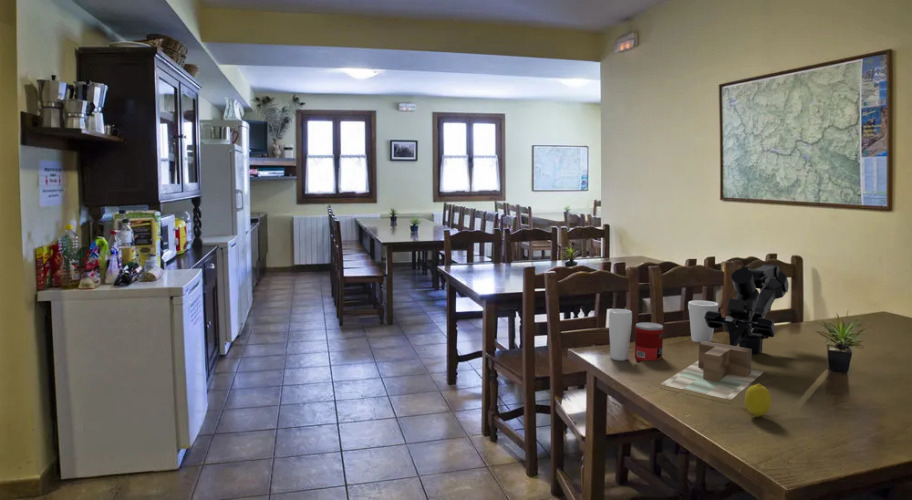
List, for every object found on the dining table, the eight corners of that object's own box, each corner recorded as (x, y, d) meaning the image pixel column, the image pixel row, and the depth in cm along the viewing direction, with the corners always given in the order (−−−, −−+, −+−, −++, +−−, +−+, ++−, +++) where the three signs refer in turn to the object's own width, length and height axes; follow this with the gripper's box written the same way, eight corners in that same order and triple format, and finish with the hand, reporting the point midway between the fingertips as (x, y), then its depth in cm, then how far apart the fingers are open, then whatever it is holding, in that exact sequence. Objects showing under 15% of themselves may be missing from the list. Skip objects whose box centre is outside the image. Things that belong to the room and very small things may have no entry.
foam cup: (686, 336, 220) (687, 299, 219) (714, 337, 218) (716, 301, 216) (688, 343, 211) (690, 305, 210) (717, 345, 209) (719, 306, 207)
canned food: (663, 364, 187) (664, 328, 186) (635, 363, 189) (636, 327, 187) (660, 357, 195) (661, 322, 193) (633, 356, 196) (634, 321, 195)
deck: (699, 363, 188) (699, 359, 188) (763, 376, 176) (764, 371, 176) (659, 388, 166) (660, 384, 166) (730, 404, 155) (730, 399, 154)
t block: (703, 364, 183) (704, 341, 182) (750, 373, 175) (751, 349, 174) (686, 375, 174) (687, 350, 173) (735, 385, 165) (737, 359, 164)
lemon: (739, 412, 149) (741, 380, 148) (761, 412, 150) (763, 379, 149) (752, 421, 144) (754, 388, 143) (775, 421, 144) (777, 387, 143)
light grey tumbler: (631, 356, 195) (632, 309, 194) (629, 362, 189) (631, 314, 187) (608, 354, 198) (610, 308, 196) (606, 360, 191) (608, 312, 189)
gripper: (708, 284, 190) (693, 326, 183) (775, 291, 178) (761, 337, 171) (715, 305, 196) (701, 347, 189) (780, 314, 184) (768, 359, 177)
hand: (731, 347), depth 182 cm, fingers closed
